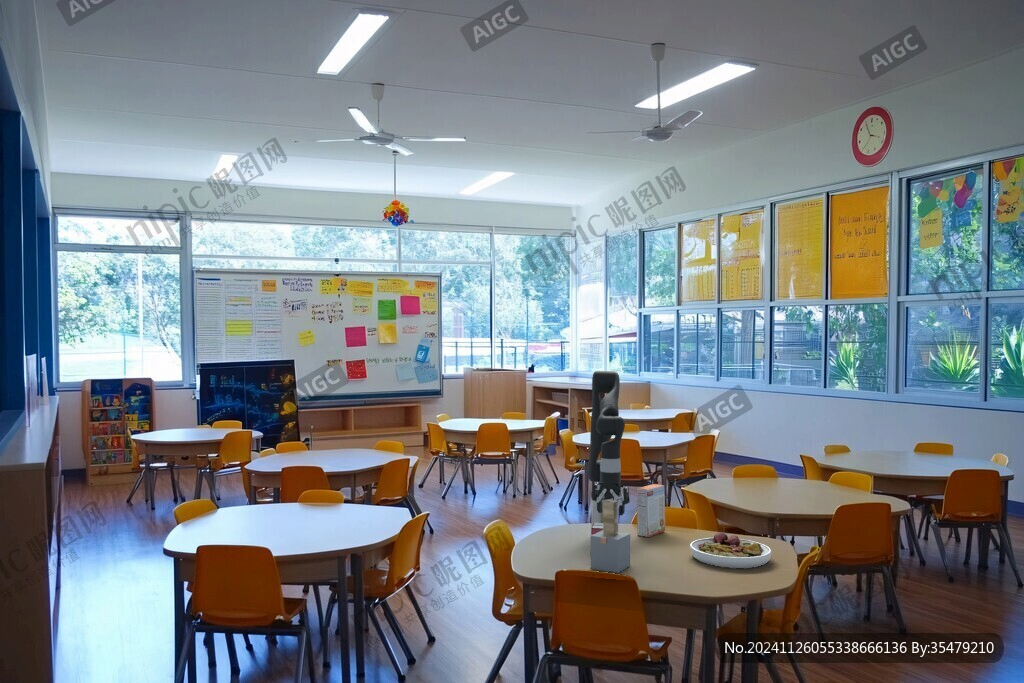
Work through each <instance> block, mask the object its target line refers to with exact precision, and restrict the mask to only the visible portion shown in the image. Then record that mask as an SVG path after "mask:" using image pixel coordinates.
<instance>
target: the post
mask: <svg viewBox="0 0 1024 683" xmlns="http://www.w3.org/2000/svg"><path fill="white" fill-rule="evenodd" d="M618 523H619V503H618V501H617V500H613V501H612V500H607V501H604V502H603V535H604V536H611V537H615V536H617V535H618V532H619V524H618Z"/></svg>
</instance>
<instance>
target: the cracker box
mask: <svg viewBox="0 0 1024 683" xmlns="http://www.w3.org/2000/svg"><path fill="white" fill-rule="evenodd" d="M665 495H666V494H665V485H663V484H659V483H658V484H657V483H652V484H649V485H645V486H641V487H637V488H636V509H637V510H636V511H637V512H636V513H637V514H636V518H637V522H636V523H637V525H636V526H637V536H638V535H639V536H638V537H643V536H645V537H644V538H651V537H653V535H654V536H657V535H660V534H662V533H661V532H663V533H665V532H666V514H665V513H666V510H665V509H666V504H665V502H666V501H665V500H666V499H665V498H666V496H665ZM664 531H665V532H664ZM659 533H660V534H659ZM656 534H657V535H656ZM650 536H651V537H650Z"/></svg>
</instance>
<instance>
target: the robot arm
mask: <svg viewBox="0 0 1024 683" xmlns="http://www.w3.org/2000/svg"><path fill="white" fill-rule="evenodd" d="M591 377H592V378H591V416H590V418H591V419H590V430H589V431H590V438H589V440H590V443H589V456H588V462H587V463H588V464H587V465H588V467H587V477H588V480H589V481H590V482H593V483H595V484H592V490H591V494H590V496H591V498H590V500H591V503H590V504H591V505H590V506H591V507H590V508H591V509H590V510H591V516H590V517H591V519H590V520H591V521H590V522H591V528H592V526H593V524H594V523H603V502H604V501H607V500H612V501H614V499H615V501H618V516H621V517H622V516H623V515H624V514H625V512H626V510H625V508H626V505H628V504H630V500H631V499H630V488H629V487H628V486H625V487H622V485H621V484H622V482H621V481H622V480H621V479H622V478H621V477H622V476H621V475H622V471H621V468H622V467H621V443H622V438H623V434H624V430H625V428H626V423H625V419H624V418H623V417H622V416H619V415H620V413H619V397H620V387H621V386H620V385H621V384H620V383H621V382H620V376H619V373H618V372H617V371H613V370H595V371H594V372H593V374H592V376H591ZM601 394H606V395H605V396H604V397H603V398H601ZM613 436H614V438H612V437H613ZM611 439H612V440H611ZM599 456H600V459H598V458H599ZM597 482H598V483H600V484H598V483H597ZM621 492H622V495H623V496H622V495H621ZM591 528H590V529H591Z"/></svg>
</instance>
